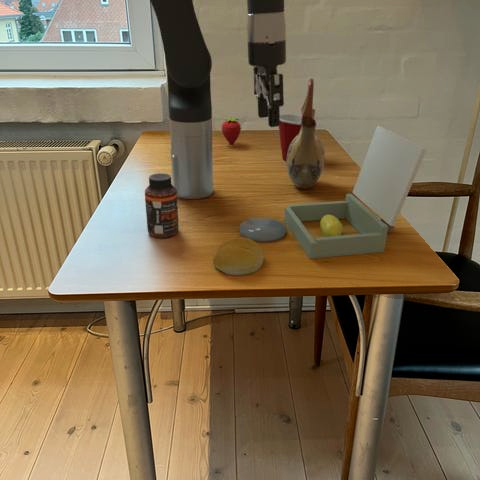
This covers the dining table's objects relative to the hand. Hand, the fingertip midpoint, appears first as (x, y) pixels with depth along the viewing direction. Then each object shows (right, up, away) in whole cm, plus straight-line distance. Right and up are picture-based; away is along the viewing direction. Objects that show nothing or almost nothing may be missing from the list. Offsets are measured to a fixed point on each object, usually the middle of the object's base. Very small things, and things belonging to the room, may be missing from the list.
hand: (268, 121), depth 97 cm
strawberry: (-9, +4, +46) cm, 47 cm away
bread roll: (-6, -29, -19) cm, 35 cm away
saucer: (-2, -23, -8) cm, 25 cm away
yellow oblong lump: (+11, -25, -9) cm, 29 cm away
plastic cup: (+9, -2, +34) cm, 35 cm away
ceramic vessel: (+9, -12, +15) cm, 21 cm away
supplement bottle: (-21, -24, -9) cm, 33 cm away
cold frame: (+11, -24, -9) cm, 28 cm away
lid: (+20, -13, -13) cm, 27 cm away
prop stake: (+23, -23, -7) cm, 33 cm away
